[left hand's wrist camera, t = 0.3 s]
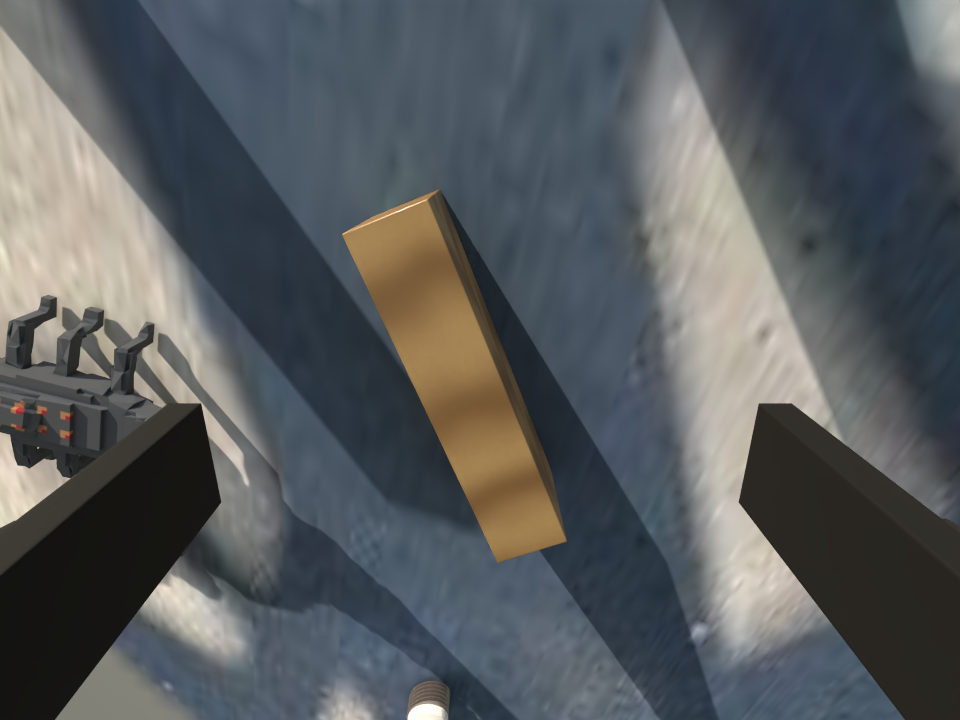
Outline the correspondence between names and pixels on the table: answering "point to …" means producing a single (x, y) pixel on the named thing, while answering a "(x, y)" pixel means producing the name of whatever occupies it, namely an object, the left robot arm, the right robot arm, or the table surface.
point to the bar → (459, 371)
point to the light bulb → (429, 702)
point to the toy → (68, 395)
